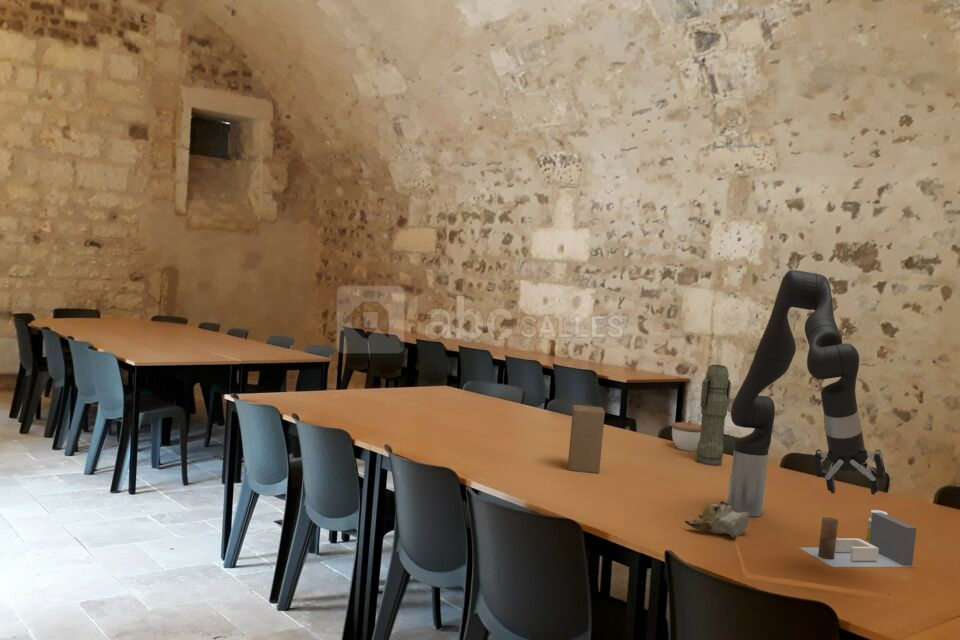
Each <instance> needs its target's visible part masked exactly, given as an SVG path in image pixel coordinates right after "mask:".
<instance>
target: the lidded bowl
mask: <svg viewBox="0 0 960 640" xmlns="http://www.w3.org/2000/svg"><path fill="white" fill-rule="evenodd" d="M671 424H672V425H671V428H672V429H671V437H672V442H673V443H674V445H675V447H676V448H677V449H678V450H681V451H687V452H697V447H698V442H699V440H700V432H701V424H697V423H694V422H693V423H692V420H689V419H688V420H687V422H673V423H671Z"/></svg>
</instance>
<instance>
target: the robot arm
mask: <svg viewBox="0 0 960 640" xmlns="http://www.w3.org/2000/svg"><path fill="white" fill-rule="evenodd" d="M829 281H830V280H829V279H828V278H827V277H826V276H825V275H823V274H819V273H814V272H809V271H805V270H804V271H802V270H797V269H790V270H788V271H786V273H785V274H784V276H783V278H782V279H781V282H780V285H779V287H778V288H779V289H778V291H777V295H776V298H775V300H774V304H773V308H772V310H771V314H770V317H769V320H768V323H767V325H766V326H765V330H764V331H763V334H762V336H761V338H760V341H759V343H758V345H757V348H756V351H755V353H754V356H753V359H752V362H751V365H750V366H749V369H748V372H747V374H746V376H745V378H744V380H743V383H742V384H741V386H740V388H739V389H738V391H737V394H736V395H735V396H734V397H735V398H734V399H733V402H732V405H731V409H730V419H731V422H732V423H733V425H734V426H737V427H740V428H744V429H747V428H748V429H753V430H752V432H751V433H749V434H748V435H746V436H743V437H740V438H736V439H735V441H734V444H733V445H734V446H733V456H732V466H731V474H730V476H729V484H728V485H729V486H728V496H727V503H728V504H729V505H730V506H731V508H732V510H733V511H734V512H737V513H742V512H749V513H750V515H749V517H761V516H762V515H763V509H764V499H765V498H764V497H765V490H766V489H765V488H766V479H767V468H768V458H769V450H770V446H771V443H772V434H773V428H774V423H775V416H776V415H775V413H776V406H775V403H774V400H773V399H772V397H771V396H768V395H760V393H761V392H763V391H764V390H765V389H766V388H767V387H769V386H771V385H772V384H774V383H775V382H777V380H779V379H780V378H781V377H783V376H784V374H786V373H787V372H788V370H789V368H790V366H791V364H792V361H793V359H794V356H795V354H796V351H797V346H796V345H797V344H796V340H795V338H794V334H793V331H792V329H791V327H790V323H789V318H788V317H789V316H788V315H789V311H790V309H791V308H797V309H802V310H808V311H813V312H811V314H809V316H808V317H807V318H806V320H805V323H804V334H805V337H806V341H807V343H808V352H807V358H806V368H807V371H808V373H809V374H810V375H811V377H813V378H814V379H817V380H828V379H834V378H835V379H836V378H839V379H838V380H836V381H834V382H832V383H829V384H827V385H825V386H824V387H822V389H821V391H820V398H821V405H822V411H823V423H824V426H823V427H824V431H825V437H826V442H827V448H828V449H827V450H828V451H822V450H821V449H819V448H818V449H816V450H815V453H814V465H815V475H816V477H817V478H823V479H825V482H826V487H827V489H826V490H828V492H830V494H835V493H836V485H835V483H836V482H835V477H834V475H835V474H836V473H837V472H838V470H840V471H842V472H847V471H851V472H857V471H859V472H860V473H861V474H862V475H864V476H865V477H867V478H868V479H869V488H870V493H871V495H872V496H873V495H876V493H878V491H879V483H878V482H879V481H878V480H879V479H885V475H886V474H885V473H886V469H885V465H884V459H883V454H882V451H881V450H880V449H875V451H867V450H866V447H865V441H864V434H863V427H862V421H861V420H862V419H861V416H860V413H859V410H858V403H857V396H856V386H857V378H858V372H859V367H860V354H859V352H858V350H857V349H856V347H855V346H853V345H852V344H850V343H843V338H842V335H841V333H840V331H839V328H838V326H837V323H836V320H835V315H834V305H833V298H832V291H831V290H832V289H831V285H830V282H829ZM826 458H827V459H828V460H829V461H830V462H831V464H830V466H829V467H828V469H824V462H825V460H826ZM868 459H870V460H871V462H872V463H874V464H875V467H876V468H875V469H876V470H875V469H873V467H872V466H871V465H870V463H869V462H867V460H868Z"/></svg>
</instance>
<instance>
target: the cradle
mask: <svg viewBox="0 0 960 640" xmlns="http://www.w3.org/2000/svg"><path fill="white" fill-rule="evenodd" d="M878 551H879V548H877V547H875V546H873V545H871V544H869V542H867V541H864V540H863V539H862V538H858V537H857V538H856V537H855V538H853V537H851V538H850V537H849V538H846V537H845V538H841V537H840V538H839V537H836V545H835V552H850V560H852V561H877V560H878Z"/></svg>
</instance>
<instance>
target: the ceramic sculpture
mask: <svg viewBox="0 0 960 640" xmlns="http://www.w3.org/2000/svg"><path fill="white" fill-rule="evenodd" d="M749 515H750V513H749V512H742V513H737V512H734V511H733V510H732V508H731V506H730V505H729V504H728V502H725V501H722V500H721V501H720V503H719V504H714V503H713V504H710V505H707V506H706V507H705V508H704V510H703V512H702V513H701V514H698V517H699V519H696V518H695V519H692V520H691V521H690V520H684V523H685V524H686V525H688V526H690V527H692V528H693V529H695V530H697V531H702V532H703V531H704V532H705V531H707V532H710V533H711V534H717V535H723V534H727V535H730V536H731V538H732V539H735V540H736V539H737V537H739V536H742V535H744V533H745V531H746V529H747V527H748V526H749V520H750V516H749Z"/></svg>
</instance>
